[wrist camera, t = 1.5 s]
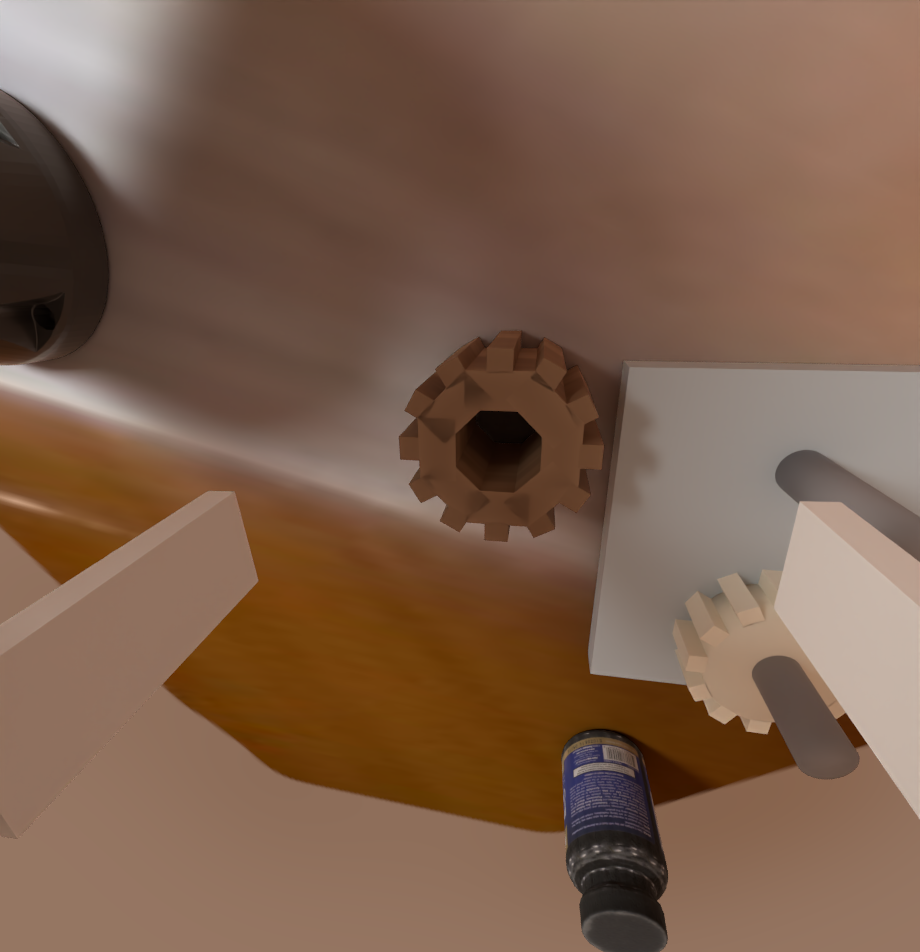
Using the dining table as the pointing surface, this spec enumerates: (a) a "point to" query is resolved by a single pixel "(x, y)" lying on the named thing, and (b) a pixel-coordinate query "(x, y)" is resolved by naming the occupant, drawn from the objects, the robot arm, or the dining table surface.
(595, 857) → the pill bottle
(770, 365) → the gear board
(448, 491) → the walnut gear
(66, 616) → the robot arm
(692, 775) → the dining table surface
